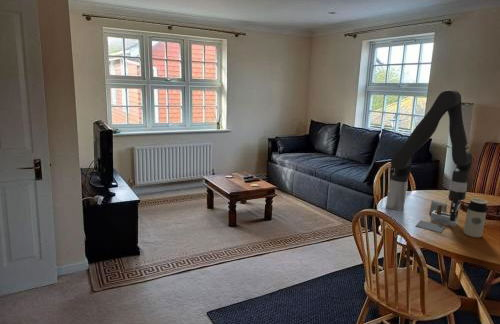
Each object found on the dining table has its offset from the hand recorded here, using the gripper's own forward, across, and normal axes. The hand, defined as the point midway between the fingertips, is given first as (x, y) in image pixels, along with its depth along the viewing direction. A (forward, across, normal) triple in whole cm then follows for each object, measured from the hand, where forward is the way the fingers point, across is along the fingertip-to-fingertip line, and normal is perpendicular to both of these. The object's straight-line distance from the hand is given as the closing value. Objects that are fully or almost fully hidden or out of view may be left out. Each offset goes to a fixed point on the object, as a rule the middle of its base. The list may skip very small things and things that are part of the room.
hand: (453, 218), depth 193 cm
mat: (+3, +12, -8) cm, 15 cm away
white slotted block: (+3, 0, -4) cm, 5 cm away
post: (+3, 0, -7) cm, 8 cm away
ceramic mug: (+3, -13, -10) cm, 17 cm away
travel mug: (+4, +8, +10) cm, 13 cm away
